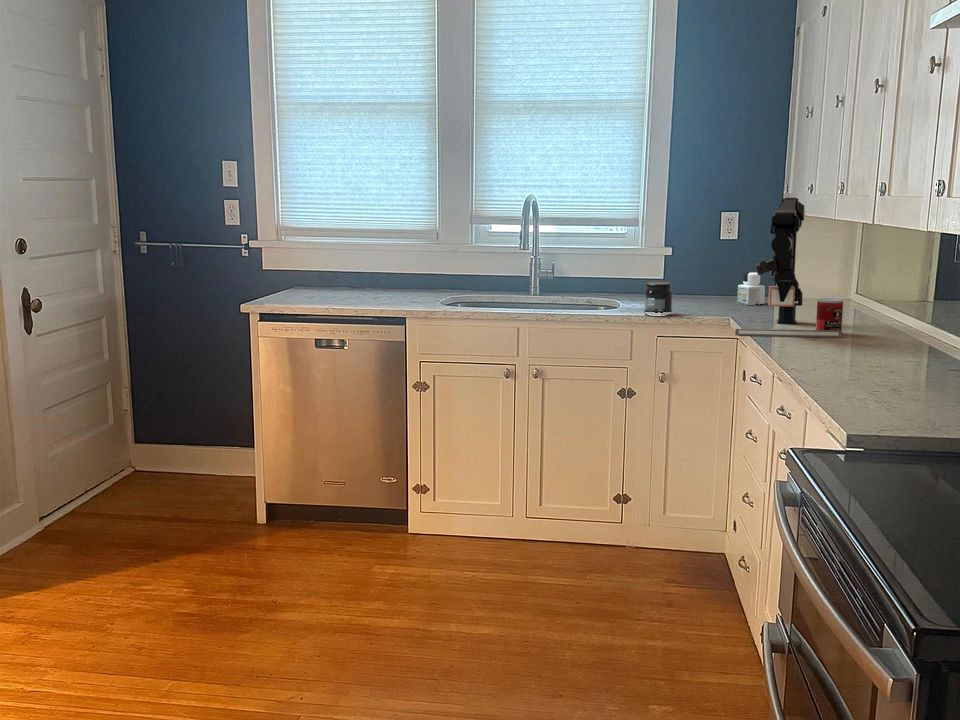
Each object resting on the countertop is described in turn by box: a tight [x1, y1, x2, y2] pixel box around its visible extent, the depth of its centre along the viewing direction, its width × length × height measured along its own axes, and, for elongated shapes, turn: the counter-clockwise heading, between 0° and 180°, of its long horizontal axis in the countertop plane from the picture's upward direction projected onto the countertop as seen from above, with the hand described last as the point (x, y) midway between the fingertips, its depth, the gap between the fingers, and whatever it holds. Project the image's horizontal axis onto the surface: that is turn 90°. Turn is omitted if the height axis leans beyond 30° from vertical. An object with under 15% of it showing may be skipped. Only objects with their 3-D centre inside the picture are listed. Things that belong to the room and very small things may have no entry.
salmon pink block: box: [767, 285, 795, 307], centre depth 284 cm, size 5×8×6 cm
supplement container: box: [643, 281, 674, 313], centre depth 334 cm, size 10×10×12 cm
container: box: [737, 271, 766, 305], centre depth 359 cm, size 8×8×13 cm
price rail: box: [734, 328, 843, 338], centre depth 282 cm, size 1×32×2 cm, turn 76°
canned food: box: [815, 297, 844, 332], centre depth 284 cm, size 8×8×11 cm
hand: (781, 300), depth 285 cm, fingers closed on salmon pink block, 5 cm apart
